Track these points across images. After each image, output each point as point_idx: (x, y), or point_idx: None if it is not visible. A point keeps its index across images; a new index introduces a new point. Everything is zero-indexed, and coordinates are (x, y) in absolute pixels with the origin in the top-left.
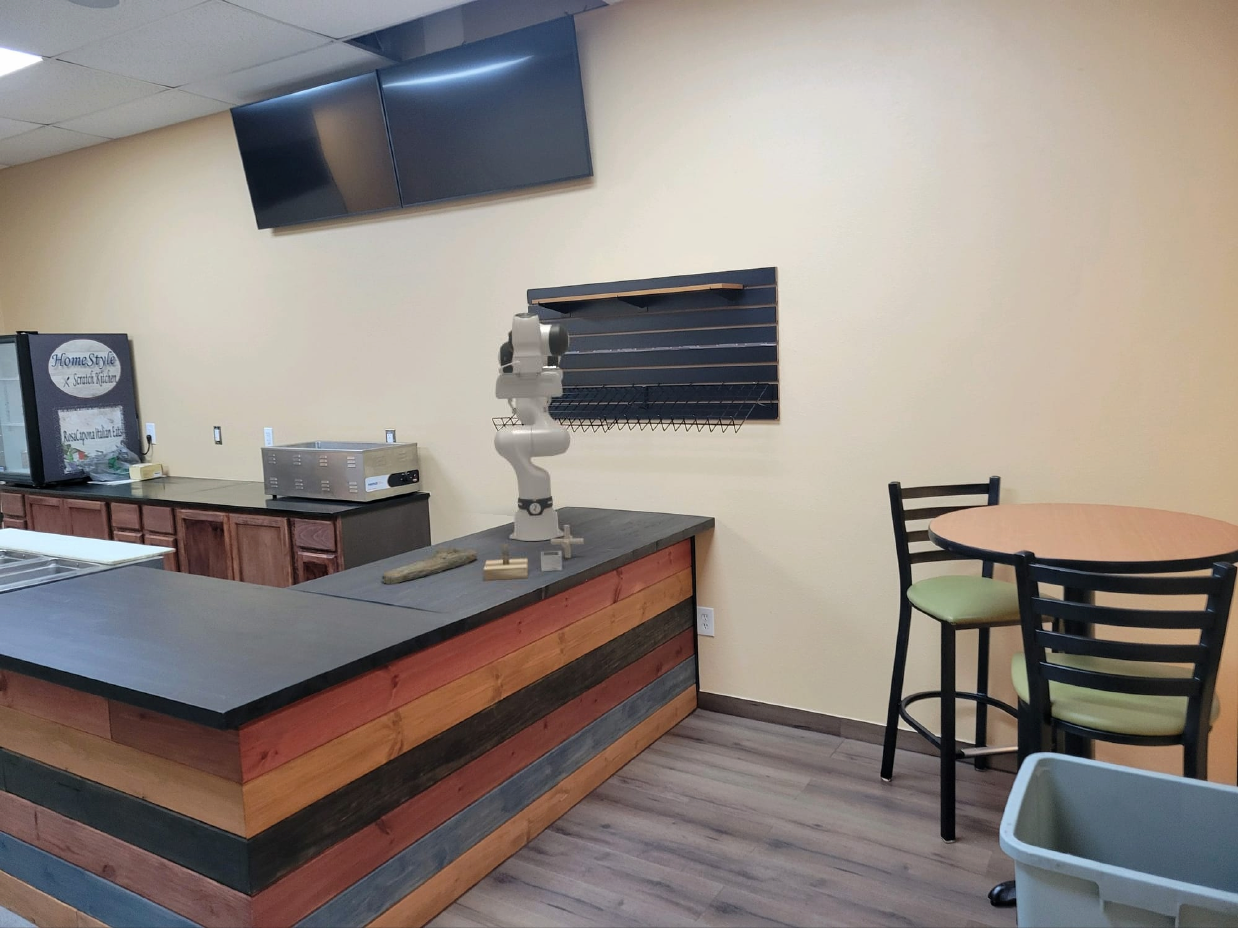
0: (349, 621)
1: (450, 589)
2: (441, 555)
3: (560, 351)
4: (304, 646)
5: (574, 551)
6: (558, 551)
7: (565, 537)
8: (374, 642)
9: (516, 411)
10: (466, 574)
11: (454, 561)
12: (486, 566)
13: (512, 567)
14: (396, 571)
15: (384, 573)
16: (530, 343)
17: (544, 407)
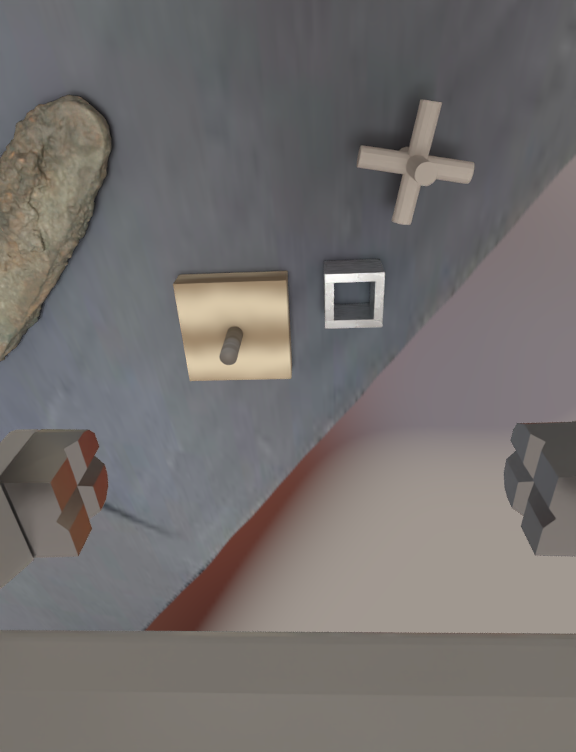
0: None
1: (140, 420)
2: (29, 246)
3: None
4: (38, 613)
5: (437, 60)
6: (376, 279)
7: (411, 177)
8: (121, 614)
9: (96, 512)
10: (136, 308)
11: (75, 246)
12: (189, 350)
13: (256, 371)
14: None
15: None
16: None
17: (553, 548)
